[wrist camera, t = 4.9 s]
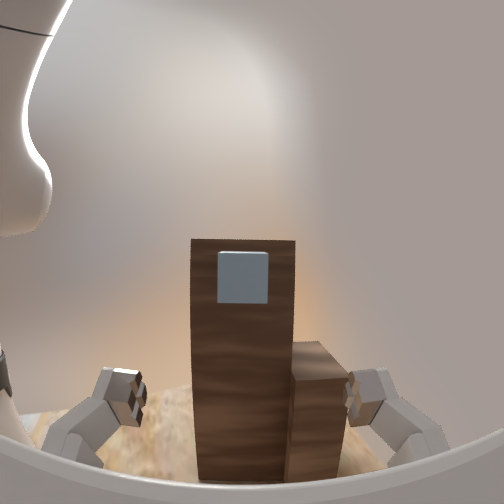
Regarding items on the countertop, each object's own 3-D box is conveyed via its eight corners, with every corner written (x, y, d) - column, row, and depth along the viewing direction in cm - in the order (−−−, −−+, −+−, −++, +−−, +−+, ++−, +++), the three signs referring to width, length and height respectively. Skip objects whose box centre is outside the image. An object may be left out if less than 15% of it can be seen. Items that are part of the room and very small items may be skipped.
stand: (333, 488, 27) (359, 240, 28) (196, 492, 27) (185, 237, 27) (307, 424, 44) (316, 246, 44) (208, 425, 43) (206, 244, 44)
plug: (267, 303, 22) (268, 253, 22) (217, 302, 22) (217, 252, 22) (255, 275, 42) (255, 249, 41) (228, 275, 41) (229, 248, 41)
